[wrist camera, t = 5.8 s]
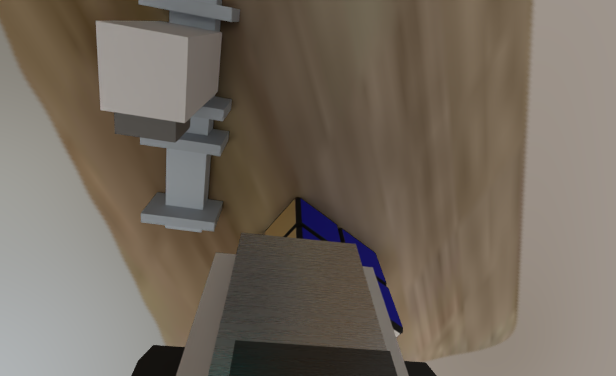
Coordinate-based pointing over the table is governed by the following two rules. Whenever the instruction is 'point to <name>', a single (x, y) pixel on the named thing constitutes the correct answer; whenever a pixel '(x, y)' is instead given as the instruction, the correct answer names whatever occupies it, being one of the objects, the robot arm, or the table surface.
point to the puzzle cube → (316, 226)
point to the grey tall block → (299, 312)
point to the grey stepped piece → (170, 100)
